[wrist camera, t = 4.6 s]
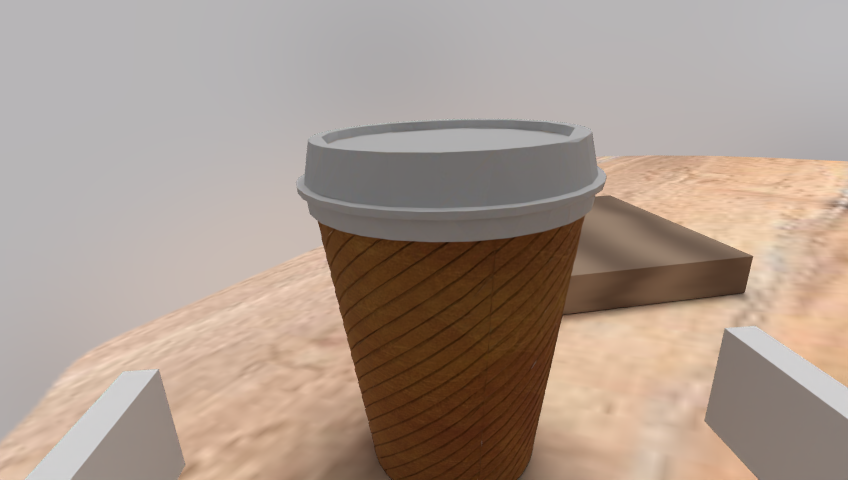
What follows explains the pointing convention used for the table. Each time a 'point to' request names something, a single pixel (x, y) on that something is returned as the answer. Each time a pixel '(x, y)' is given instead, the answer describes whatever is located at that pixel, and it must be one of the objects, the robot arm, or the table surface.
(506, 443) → the disposable coffee cup
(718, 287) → the walnut board
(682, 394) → the table surface
